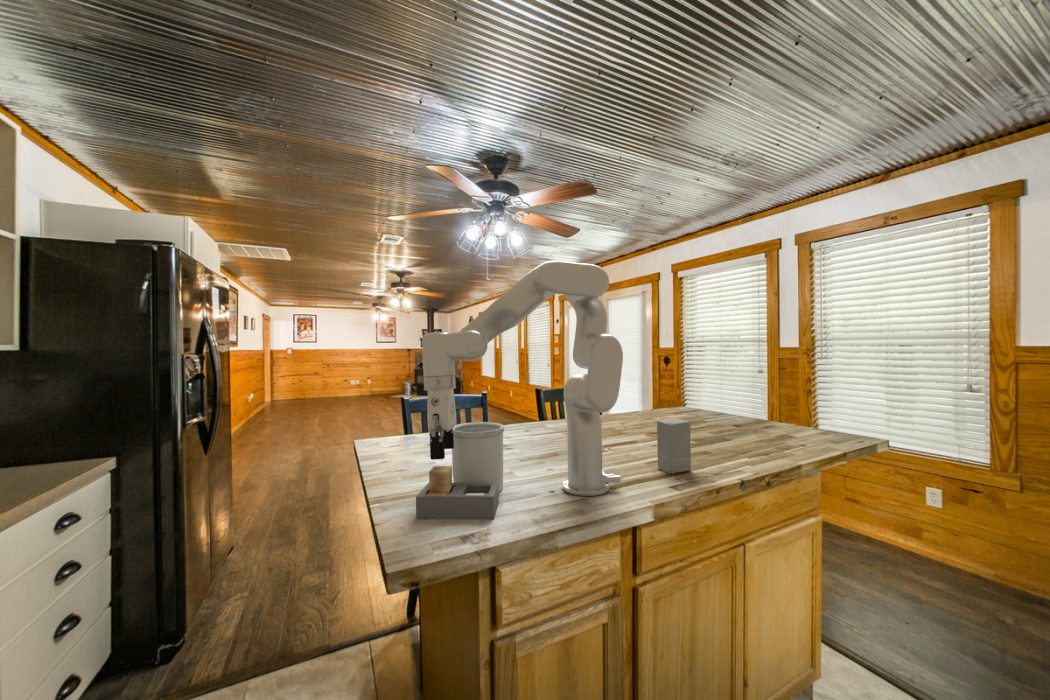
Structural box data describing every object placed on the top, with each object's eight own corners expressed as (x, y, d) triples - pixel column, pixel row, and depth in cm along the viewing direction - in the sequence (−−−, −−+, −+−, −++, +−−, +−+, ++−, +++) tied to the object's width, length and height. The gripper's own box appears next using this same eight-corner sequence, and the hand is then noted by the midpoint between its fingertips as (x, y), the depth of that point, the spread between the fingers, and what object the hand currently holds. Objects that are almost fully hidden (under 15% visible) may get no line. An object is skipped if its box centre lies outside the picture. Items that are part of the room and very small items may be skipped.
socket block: (498, 502, 100) (498, 481, 100) (494, 518, 90) (493, 495, 90) (428, 502, 101) (428, 482, 101) (416, 518, 91) (415, 496, 91)
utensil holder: (497, 500, 101) (495, 432, 102) (442, 497, 104) (441, 430, 105) (510, 482, 116) (509, 422, 116) (462, 479, 119) (461, 421, 119)
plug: (452, 506, 98) (451, 466, 98) (448, 513, 93) (448, 471, 93) (434, 506, 98) (433, 466, 98) (429, 514, 93) (429, 471, 93)
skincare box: (677, 465, 130) (676, 417, 130) (693, 471, 123) (692, 420, 123) (655, 468, 127) (654, 419, 127) (670, 474, 120) (669, 422, 120)
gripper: (446, 385, 87) (450, 463, 87) (462, 379, 104) (464, 444, 104) (413, 387, 87) (416, 464, 87) (434, 381, 105) (436, 445, 105)
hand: (442, 453), depth 96 cm, fingers open, 9 cm apart
